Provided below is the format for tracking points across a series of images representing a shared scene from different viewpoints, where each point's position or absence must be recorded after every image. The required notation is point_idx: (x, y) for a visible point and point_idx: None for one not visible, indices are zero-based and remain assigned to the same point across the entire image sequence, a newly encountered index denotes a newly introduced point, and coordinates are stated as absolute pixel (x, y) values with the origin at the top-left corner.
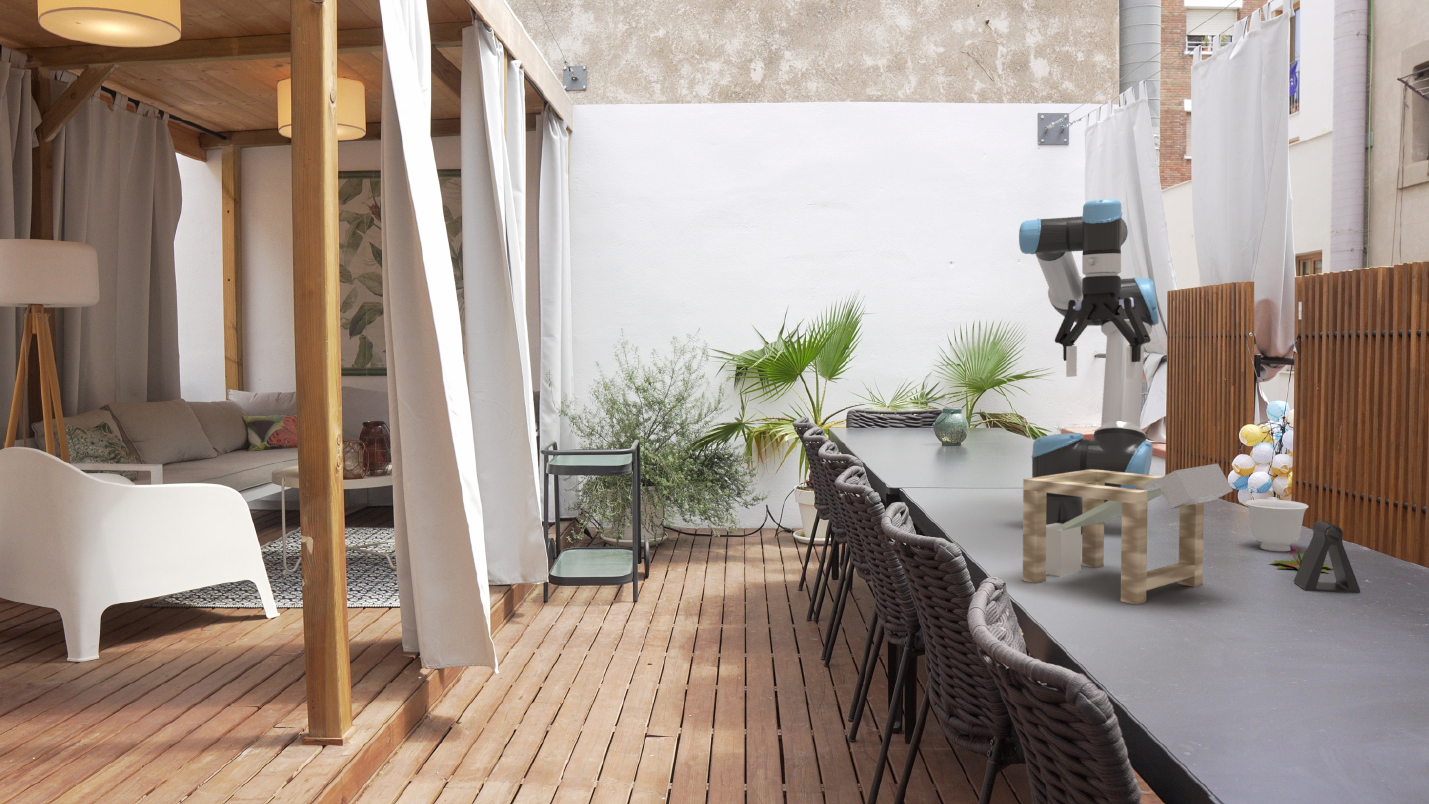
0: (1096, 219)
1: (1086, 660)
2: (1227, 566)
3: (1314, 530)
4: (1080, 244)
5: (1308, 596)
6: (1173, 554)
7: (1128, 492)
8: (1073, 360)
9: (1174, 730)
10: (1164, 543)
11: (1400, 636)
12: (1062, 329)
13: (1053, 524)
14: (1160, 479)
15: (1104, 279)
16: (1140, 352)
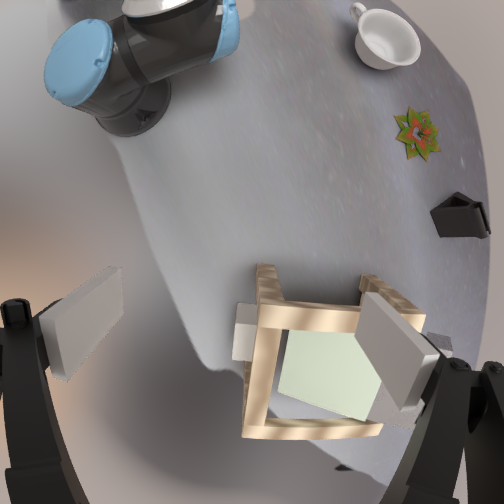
0: None
1: (351, 463)
2: (371, 175)
3: (470, 213)
4: None
5: (443, 256)
6: (307, 147)
7: (368, 435)
8: (94, 315)
9: (391, 480)
10: (272, 90)
11: (479, 322)
12: None
13: (237, 333)
14: (399, 425)
15: None
16: (439, 352)
